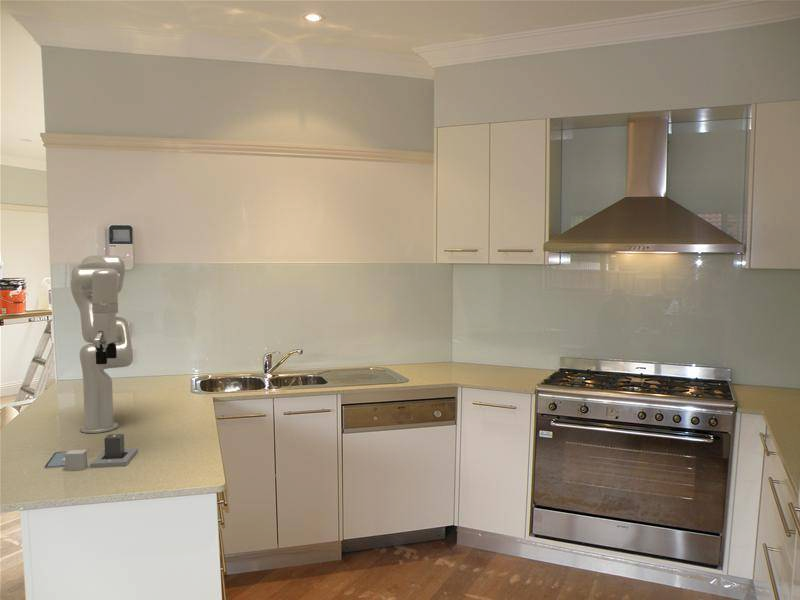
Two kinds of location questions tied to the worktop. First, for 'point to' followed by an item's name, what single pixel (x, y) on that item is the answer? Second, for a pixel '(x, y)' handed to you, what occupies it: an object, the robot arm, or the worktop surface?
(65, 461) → the cable plug
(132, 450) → the outlet plate
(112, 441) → the block
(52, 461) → the smartphone
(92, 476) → the worktop surface
